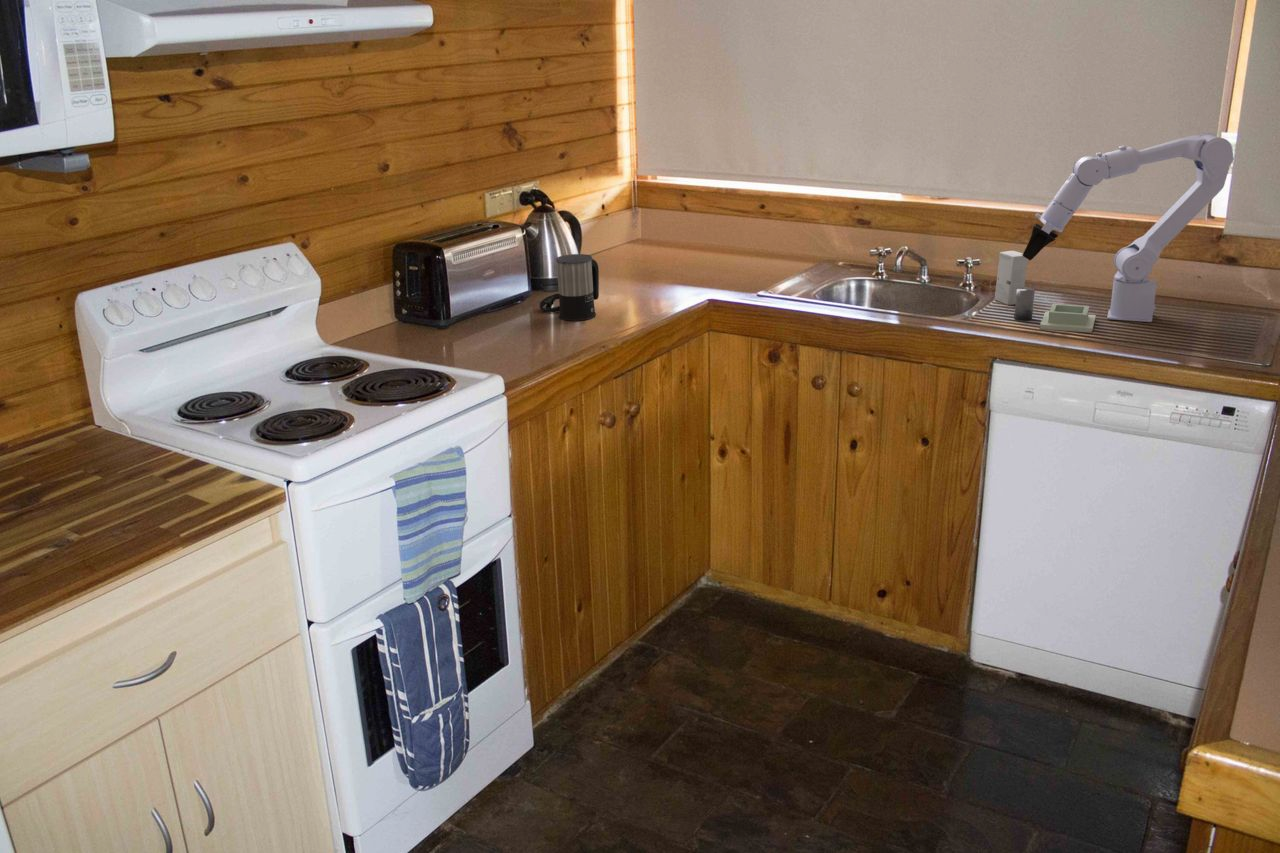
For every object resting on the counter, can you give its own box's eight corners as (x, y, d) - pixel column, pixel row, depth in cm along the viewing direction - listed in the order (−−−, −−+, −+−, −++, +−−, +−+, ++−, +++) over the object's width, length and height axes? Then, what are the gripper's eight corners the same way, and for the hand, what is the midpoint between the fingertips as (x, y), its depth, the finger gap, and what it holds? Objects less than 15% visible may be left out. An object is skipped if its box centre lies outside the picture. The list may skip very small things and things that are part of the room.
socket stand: (1095, 319, 261) (1096, 304, 260) (1091, 332, 251) (1093, 317, 250) (1045, 315, 265) (1046, 301, 264) (1039, 328, 255) (1041, 313, 254)
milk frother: (590, 322, 274) (587, 262, 269) (528, 320, 277) (524, 261, 272) (604, 307, 287) (601, 249, 282) (544, 306, 290) (540, 249, 285)
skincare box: (993, 299, 281) (997, 251, 276) (1009, 298, 282) (1013, 249, 278) (1008, 305, 275) (1012, 256, 271) (1024, 303, 276) (1028, 254, 272)
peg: (1033, 317, 265) (1035, 287, 262) (1031, 321, 261) (1033, 291, 259) (1015, 315, 266) (1017, 286, 264) (1013, 320, 263) (1015, 290, 260)
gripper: (1050, 195, 263) (1015, 244, 268) (1046, 197, 250) (1010, 249, 255) (1076, 211, 262) (1041, 261, 267) (1074, 214, 249) (1037, 266, 254)
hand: (1027, 256), depth 261 cm, fingers open, 7 cm apart
